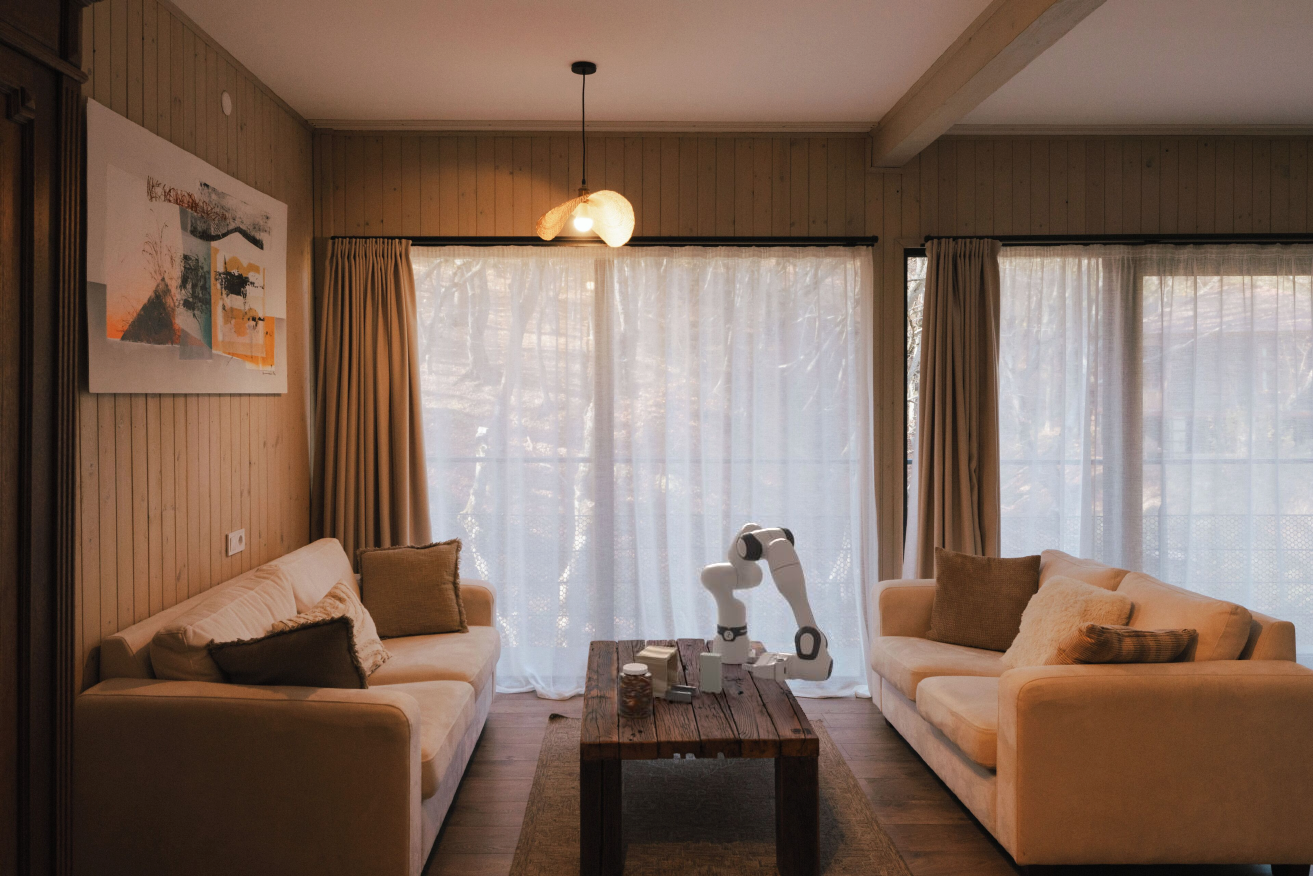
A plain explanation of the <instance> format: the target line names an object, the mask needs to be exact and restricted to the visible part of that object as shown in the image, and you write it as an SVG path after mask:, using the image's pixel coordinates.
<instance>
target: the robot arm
mask: <svg viewBox="0 0 1313 876" xmlns="http://www.w3.org/2000/svg"><path fill="white" fill-rule="evenodd" d="M727 559H728V561H729V562H717V563H712V564H709V565H706V566H704V567H703V568H702V570H701V573H700V582H701V584H702V586H703V587H704V589H706V590H707V591H708V592H710V593H711V595H712V596H713V597H714V600H715V602H716V606H717V619H718V620H717V621H718V623H717V624H716V625H717V626H716V633H717V634H716V635H715V636H714V637H713V640H712V641H713V645H712V653H717V654H722V664H726V665H727V664H728V665H730V664H731V665H738V664H740V665H741V669H742V670H746V671H749V672H752V675H753V677H756V678H760V679H764V680H765V679H767V680H775V682H783V681H785V680H792V681H794V680H801V681H802V680H803V681H806V682H825V681H828V680H829V679H830V677H831V676H832V673H833V669H834V659H833V658H832V656H831V655H830V653H829V651H828V647H829V645H828V644H829V643H828V639H827V637H826V635H825V634H824V632H823V631H822V630H820V629H819V627H818V625H817V623H816V620H815V618H814V615H813V611H812V609H811V606H810V603H809V599H808V595H807V594H808V593H807V589H806V588H807V587H806V580H805V575H804V569H803V566H802V564H801V561H800V559H799V556H798V553H797V551H796V549H795V537H794V535H793V532H792V531H791V530H790V529H789V528H788V527H782V526H777V527H768V528H767V527H766V528H763V527H762V526H761V525H759V524H758V523H755V522H748V523H746V524H744V525H743V526H742V527H741V528H740V529H739V530H738V532H737V533H736V535H735V536H734V539H733V540H732V543H731V544H730V547H729V549H728V551H727ZM761 560H765V561H766V562H767V564H768V567H769V572H770V574H771V577H772V580H773V582H774V584H775V587H776V588H777V590H778V591H779V593H780V594H781V595H782V596H783V598H784V599H785V600H786V601H787V602H788V603H787V604H789V606H790V608H791V610H792V613H793V615H794V619H795V621H796V624H797V627H798V630H797V631H796V633H795V636H794V645H795V651H796V652H782V651H780V652H779V653H777V652H771V651H765V652H763V653H762V654H761V655H756V654H757V652H756V649H754V648H752V647H751V638H750V636H749V635H748V623H747V616H746V615H747V614H746V613H747V607H746V604H745V603H744V602H743V601H742V600H740V599H739V598H736V597H734V593H733V592H734V591H737V590H739V591H741V590H749V589H752V588H753V589H754V588H756V587H759V586H760V585H761V583H762V581H763V576H764V575H763V569H762V568H761V566H760V565H759V563H757V562H758V561H761ZM749 663H750V664H749ZM752 663H754V664H752Z"/></svg>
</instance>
